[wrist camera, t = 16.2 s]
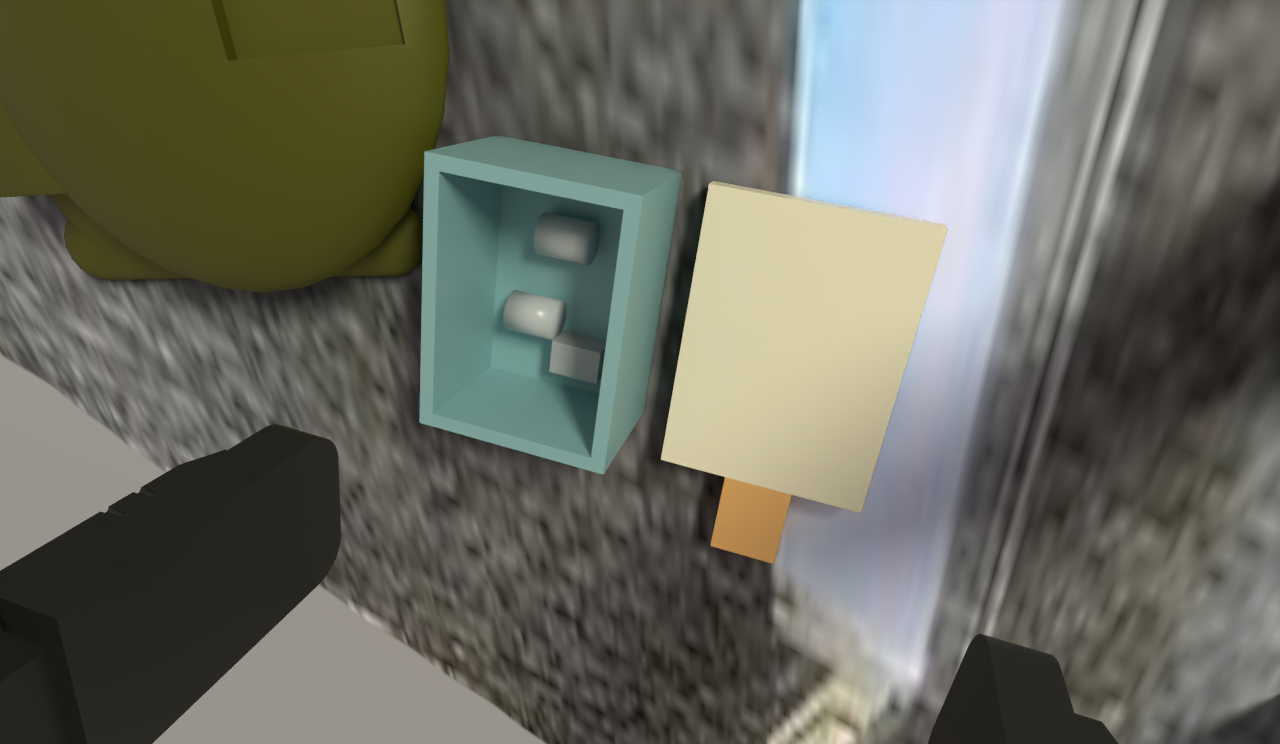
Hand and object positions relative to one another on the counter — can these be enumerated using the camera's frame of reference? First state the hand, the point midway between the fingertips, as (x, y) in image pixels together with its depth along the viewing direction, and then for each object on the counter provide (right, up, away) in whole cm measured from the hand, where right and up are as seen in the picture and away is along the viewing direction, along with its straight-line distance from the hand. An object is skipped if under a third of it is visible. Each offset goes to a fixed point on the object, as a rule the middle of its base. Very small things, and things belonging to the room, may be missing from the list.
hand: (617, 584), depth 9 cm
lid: (+9, +2, +35) cm, 36 cm away
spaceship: (-25, +24, +37) cm, 50 cm away
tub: (-4, +8, +36) cm, 37 cm away
